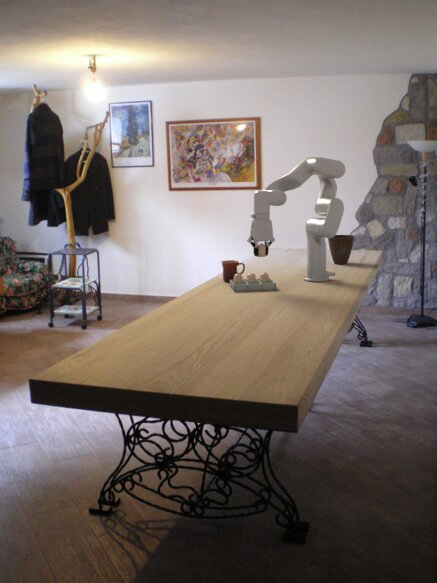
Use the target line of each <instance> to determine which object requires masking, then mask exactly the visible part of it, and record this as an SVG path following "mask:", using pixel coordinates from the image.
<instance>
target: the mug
mask: <svg viewBox="0 0 437 583" xmlns="http://www.w3.org/2000/svg"><path fill="white" fill-rule="evenodd" d="M240 265H242V266H243V267H242V271H241V272H238V266H240ZM221 267H222V280H223V282H225V283H230V280H234V275H235V274H241V275H242V274H244V272H245V268H246V264H245V263H244V262H239V260H235V259H234V260H231V259H230V260H229V259H228V260H221Z"/></svg>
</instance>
